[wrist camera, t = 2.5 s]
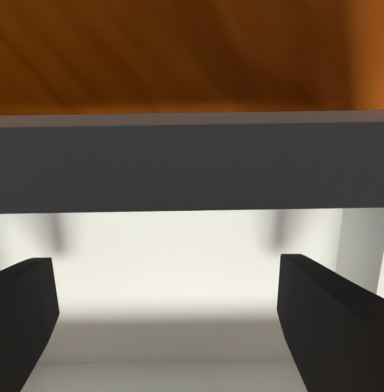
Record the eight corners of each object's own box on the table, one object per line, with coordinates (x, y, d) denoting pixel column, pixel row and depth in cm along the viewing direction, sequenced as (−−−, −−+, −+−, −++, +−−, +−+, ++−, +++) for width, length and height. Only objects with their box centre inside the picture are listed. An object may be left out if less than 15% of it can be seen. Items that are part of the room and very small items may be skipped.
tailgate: (370, 157, 11) (520, 205, 6) (-43, 163, 11) (-234, 217, 6) (377, 109, 10) (545, 120, 5) (-53, 116, 10) (-270, 131, 5)
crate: (17, 356, 15) (-43, 449, 11) (-21, 164, 12) (-119, 194, 8) (331, 350, 15) (381, 440, 11) (356, 158, 12) (433, 185, 8)
